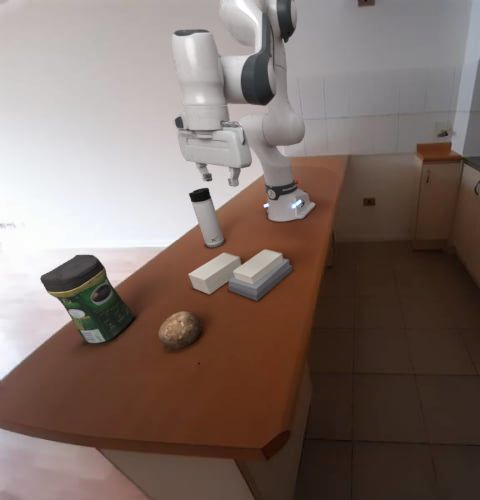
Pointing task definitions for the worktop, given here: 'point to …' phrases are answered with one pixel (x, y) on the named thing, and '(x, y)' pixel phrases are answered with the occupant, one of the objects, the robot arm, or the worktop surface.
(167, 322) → the brown oval lump
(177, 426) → the worktop surface
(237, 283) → the grey book
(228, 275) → the white book
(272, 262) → the cream flat block
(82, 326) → the coffee jar
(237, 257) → the white book
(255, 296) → the grey book
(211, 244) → the travel mug
